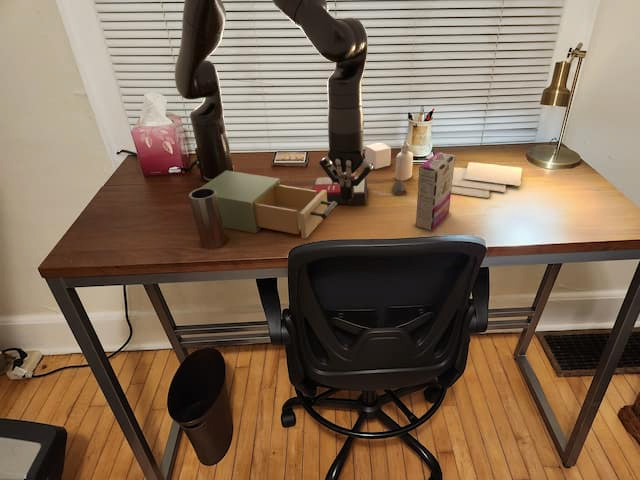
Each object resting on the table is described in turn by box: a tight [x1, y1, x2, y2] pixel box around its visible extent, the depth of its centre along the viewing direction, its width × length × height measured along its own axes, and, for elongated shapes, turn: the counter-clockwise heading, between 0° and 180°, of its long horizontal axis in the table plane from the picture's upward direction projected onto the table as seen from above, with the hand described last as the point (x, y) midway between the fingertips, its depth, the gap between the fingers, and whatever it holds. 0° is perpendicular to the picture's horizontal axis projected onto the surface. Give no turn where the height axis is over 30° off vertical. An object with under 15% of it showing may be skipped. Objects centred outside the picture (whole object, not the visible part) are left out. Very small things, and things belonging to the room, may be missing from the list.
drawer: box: [253, 184, 338, 239], centre depth 110 cm, size 20×13×7 cm
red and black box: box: [312, 176, 368, 206], centre depth 125 cm, size 11×4×15 cm
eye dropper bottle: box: [394, 139, 414, 182], centre depth 132 cm, size 4×6×12 cm
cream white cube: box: [364, 141, 392, 170], centre depth 143 cm, size 6×6×6 cm
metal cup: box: [188, 187, 227, 249], centre depth 103 cm, size 6×6×13 cm
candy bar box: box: [415, 151, 456, 232], centre depth 110 cm, size 11×5×16 cm, turn 148°
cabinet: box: [198, 170, 282, 234], centre depth 115 cm, size 17×15×9 cm
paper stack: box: [451, 161, 523, 199], centre depth 134 cm, size 23×25×1 cm
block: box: [392, 180, 407, 196], centre depth 128 cm, size 4×6×2 cm, turn 0°
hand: (347, 199), depth 103 cm, fingers closed
